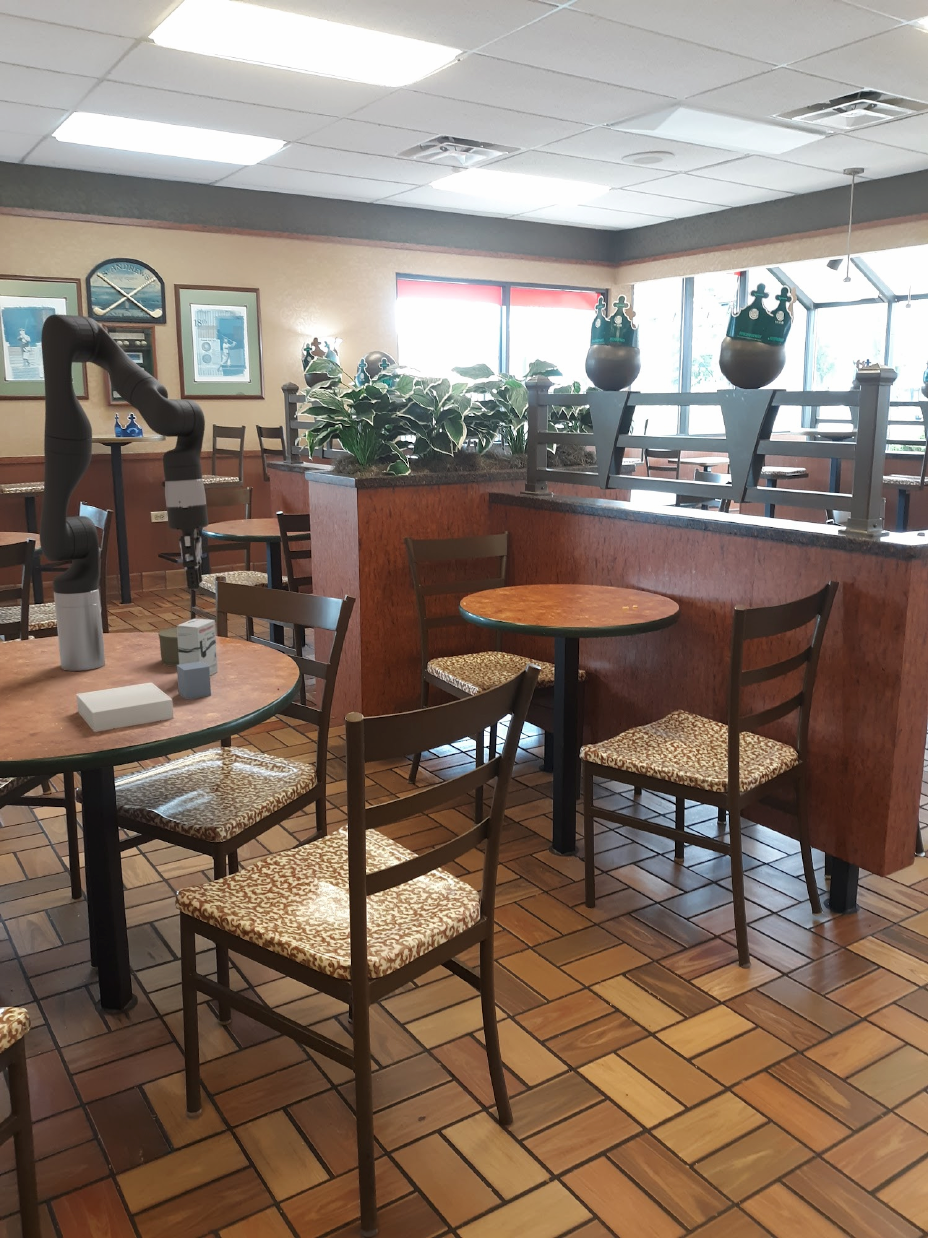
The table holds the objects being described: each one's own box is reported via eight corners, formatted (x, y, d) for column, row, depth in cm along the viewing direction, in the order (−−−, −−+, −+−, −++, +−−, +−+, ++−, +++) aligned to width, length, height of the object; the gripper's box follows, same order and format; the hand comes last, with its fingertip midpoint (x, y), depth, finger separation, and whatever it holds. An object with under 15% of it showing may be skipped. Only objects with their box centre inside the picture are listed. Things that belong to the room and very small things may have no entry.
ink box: (200, 682, 202) (196, 626, 199) (178, 681, 203) (174, 626, 200) (219, 671, 210) (215, 618, 207) (198, 670, 211) (194, 617, 208)
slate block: (178, 693, 194) (176, 664, 192) (203, 689, 196) (201, 661, 195) (186, 699, 190) (184, 670, 188) (211, 695, 192) (209, 666, 191)
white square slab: (78, 714, 182) (76, 694, 181) (153, 702, 190) (151, 682, 189) (94, 734, 171) (92, 712, 170) (173, 720, 178) (172, 699, 177)
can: (158, 668, 213) (156, 638, 211) (162, 655, 224) (160, 627, 223) (214, 665, 216) (212, 635, 214) (215, 652, 227) (213, 624, 226)
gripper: (169, 503, 194) (178, 583, 197) (162, 506, 181) (172, 592, 183) (208, 501, 196) (216, 580, 199) (203, 503, 182) (213, 588, 185)
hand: (195, 585), depth 191 cm, fingers open, 8 cm apart
